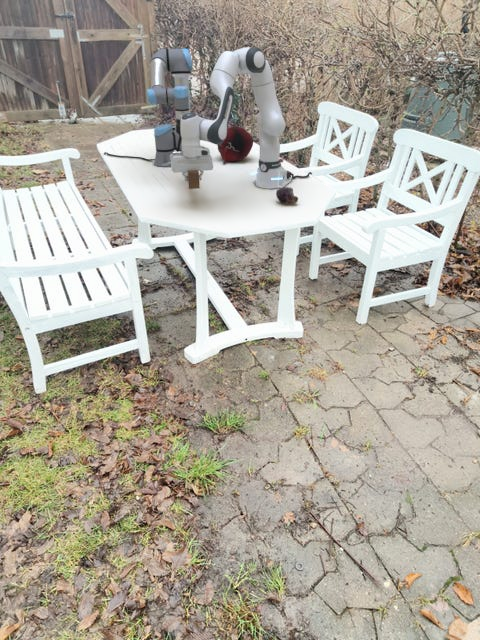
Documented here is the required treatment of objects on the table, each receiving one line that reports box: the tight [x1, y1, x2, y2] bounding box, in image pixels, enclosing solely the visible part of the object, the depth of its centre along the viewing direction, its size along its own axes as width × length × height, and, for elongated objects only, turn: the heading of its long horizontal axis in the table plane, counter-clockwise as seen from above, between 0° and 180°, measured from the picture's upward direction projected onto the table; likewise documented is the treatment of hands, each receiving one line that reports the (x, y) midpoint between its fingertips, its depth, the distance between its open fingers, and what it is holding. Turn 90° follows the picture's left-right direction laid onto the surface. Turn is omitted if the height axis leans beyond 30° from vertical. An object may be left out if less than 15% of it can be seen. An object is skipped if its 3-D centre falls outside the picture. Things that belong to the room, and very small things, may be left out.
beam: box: [180, 147, 201, 190], centre depth 237 cm, size 52×5×8 cm, turn 11°
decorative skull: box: [217, 126, 254, 165], centre depth 296 cm, size 21×24×25 cm
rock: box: [275, 186, 299, 205], centre depth 230 cm, size 12×9×10 cm
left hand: (186, 162), depth 256 cm, fingers closed on beam, 5 cm apart
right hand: (193, 180), depth 221 cm, fingers closed on beam, 5 cm apart
